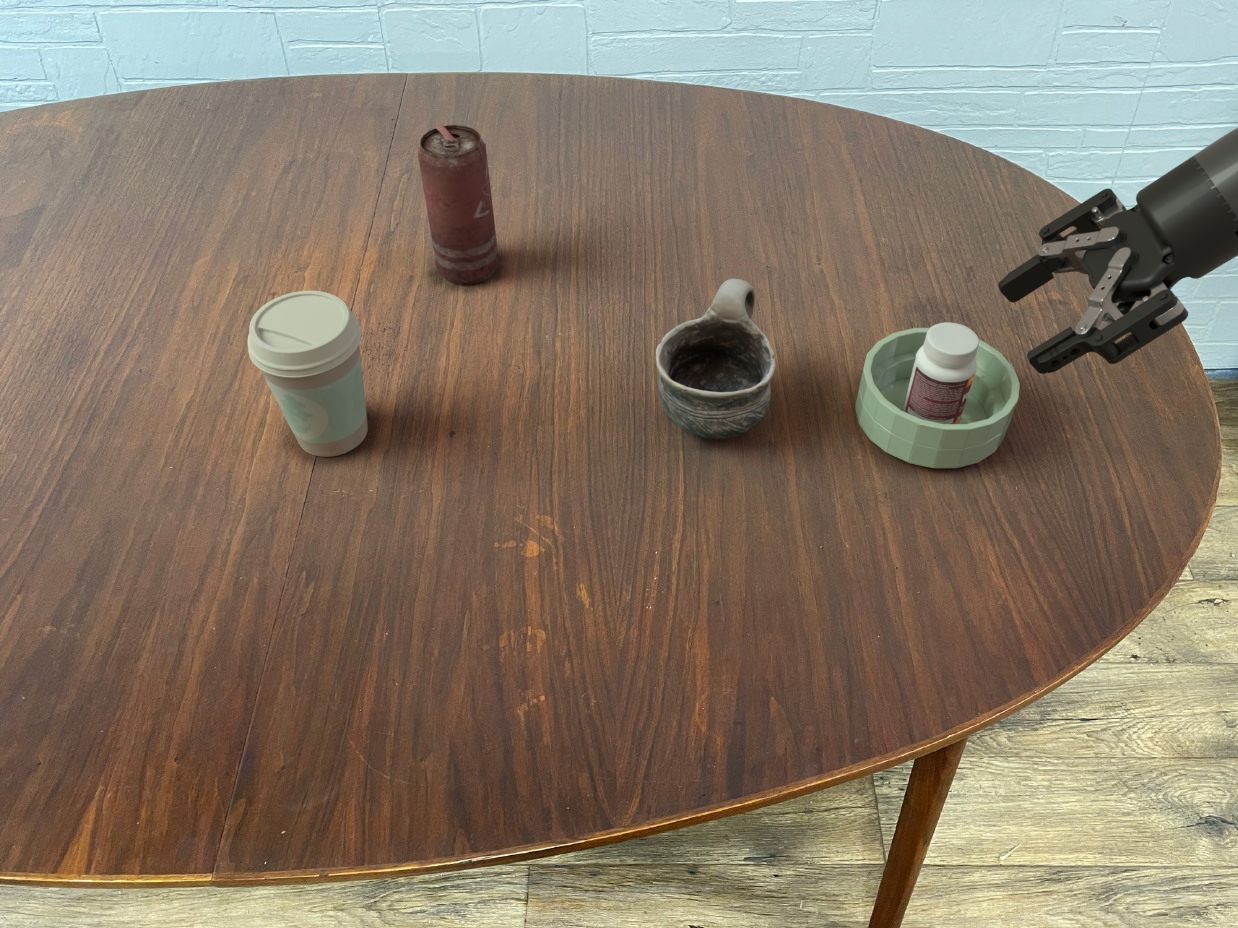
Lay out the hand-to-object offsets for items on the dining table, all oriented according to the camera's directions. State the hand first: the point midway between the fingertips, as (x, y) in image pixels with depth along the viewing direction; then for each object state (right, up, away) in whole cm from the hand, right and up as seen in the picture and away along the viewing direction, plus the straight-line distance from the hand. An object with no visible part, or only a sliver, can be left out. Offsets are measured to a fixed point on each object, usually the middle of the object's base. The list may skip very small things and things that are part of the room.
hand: (1018, 328), depth 80 cm
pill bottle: (-5, -6, +7) cm, 11 cm away
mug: (-23, -6, +9) cm, 25 cm away
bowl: (-5, -7, +7) cm, 11 cm away
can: (-46, +9, +23) cm, 52 cm away
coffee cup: (-55, -8, +7) cm, 56 cm away
